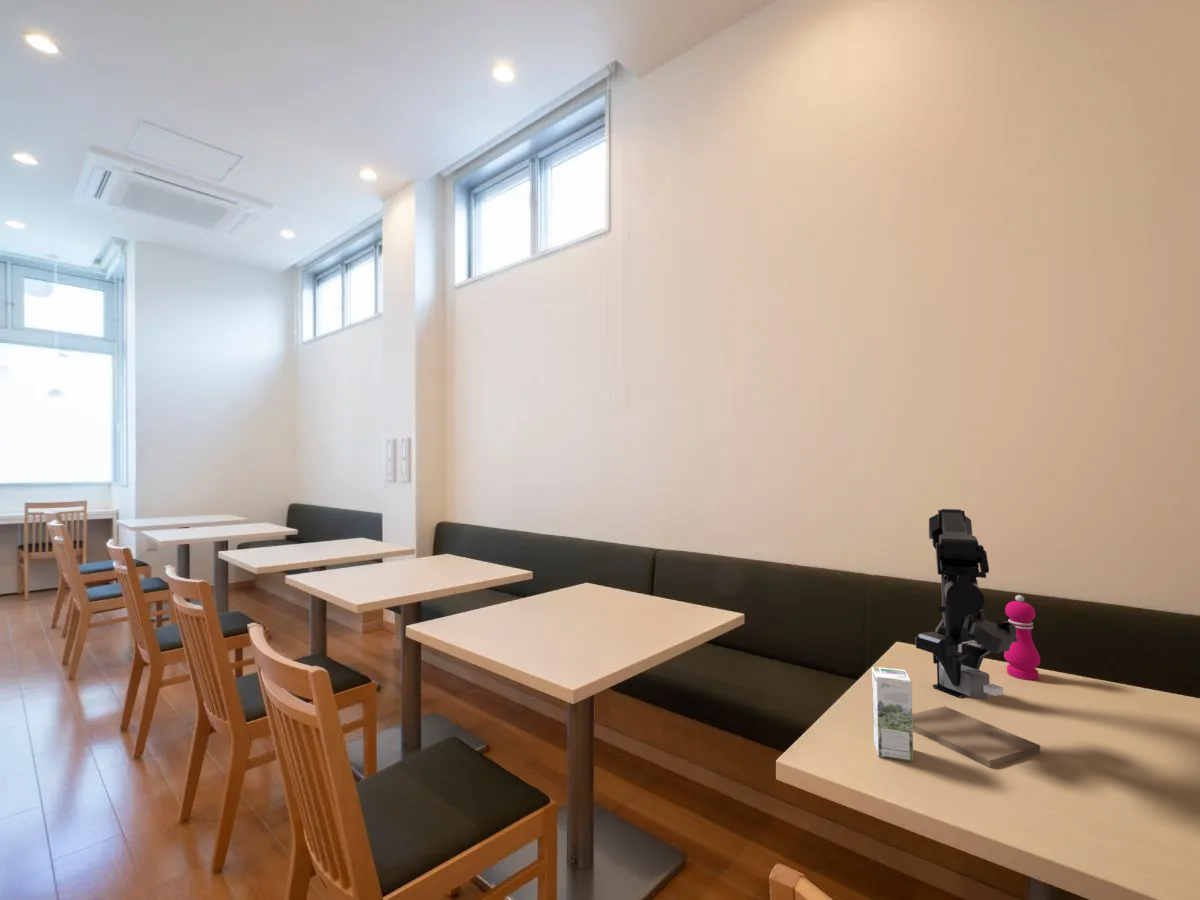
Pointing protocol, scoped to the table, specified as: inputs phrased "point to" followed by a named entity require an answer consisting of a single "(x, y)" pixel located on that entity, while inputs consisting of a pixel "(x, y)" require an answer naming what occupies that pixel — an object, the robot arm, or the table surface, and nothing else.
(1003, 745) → the walnut board
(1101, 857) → the table surface
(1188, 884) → the table surface
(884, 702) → the syrup box
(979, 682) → the charcoal usb stick
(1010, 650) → the pepper mill
